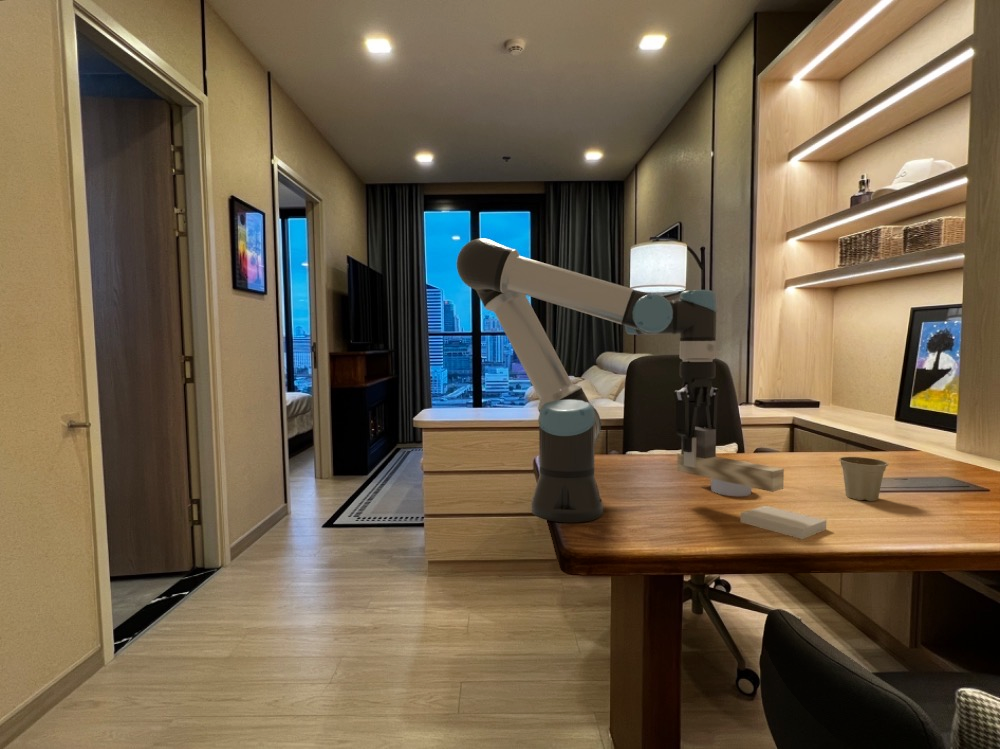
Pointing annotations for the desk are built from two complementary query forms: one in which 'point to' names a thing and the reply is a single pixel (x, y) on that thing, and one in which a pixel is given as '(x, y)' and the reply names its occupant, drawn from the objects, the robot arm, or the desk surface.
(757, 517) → the tile
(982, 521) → the desk surface
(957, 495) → the desk surface
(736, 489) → the wedge on round base
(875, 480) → the flower pot
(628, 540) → the desk surface
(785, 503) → the desk surface
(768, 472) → the bar
